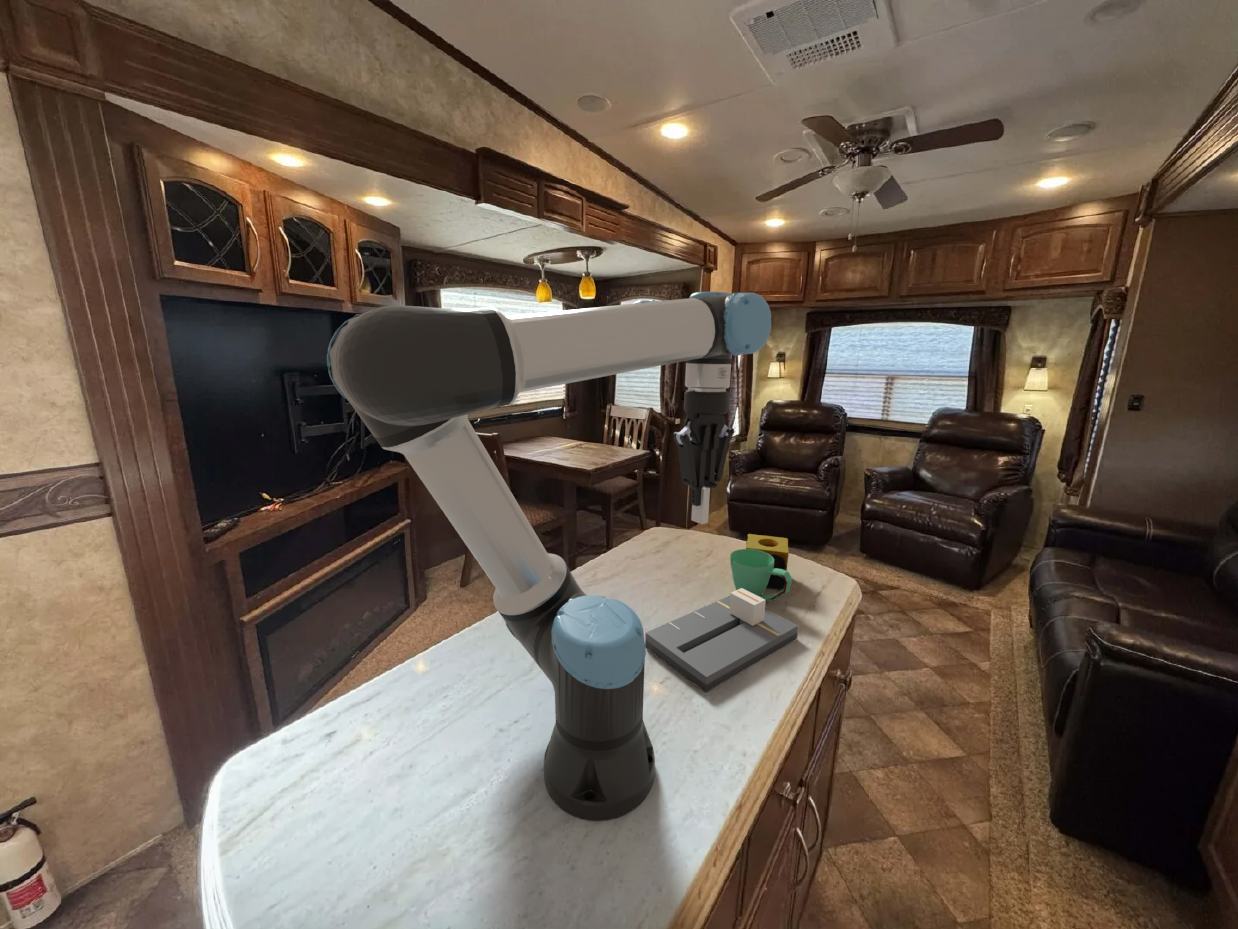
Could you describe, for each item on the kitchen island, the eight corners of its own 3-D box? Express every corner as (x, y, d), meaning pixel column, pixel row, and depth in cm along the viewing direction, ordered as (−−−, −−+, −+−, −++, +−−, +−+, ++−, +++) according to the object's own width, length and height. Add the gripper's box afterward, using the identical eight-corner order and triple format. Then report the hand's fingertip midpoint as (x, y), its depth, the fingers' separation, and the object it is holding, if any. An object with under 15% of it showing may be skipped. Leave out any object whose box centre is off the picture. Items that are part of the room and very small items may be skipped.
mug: (719, 597, 113) (721, 557, 110) (742, 583, 119) (744, 545, 117) (777, 622, 102) (781, 578, 100) (798, 605, 109) (803, 564, 107)
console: (705, 692, 81) (706, 676, 81) (645, 646, 94) (645, 632, 93) (796, 639, 97) (798, 625, 96) (734, 605, 109) (735, 592, 108)
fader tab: (752, 632, 96) (754, 604, 94) (728, 619, 100) (730, 592, 99) (763, 626, 98) (765, 599, 96) (739, 613, 102) (741, 587, 101)
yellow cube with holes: (741, 585, 118) (744, 547, 116) (743, 568, 128) (746, 532, 125) (785, 592, 115) (789, 553, 113) (784, 573, 125) (787, 537, 122)
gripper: (695, 392, 75) (688, 535, 80) (749, 389, 83) (739, 520, 88) (663, 389, 81) (658, 522, 86) (716, 386, 88) (709, 509, 94)
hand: (699, 521), depth 87 cm, fingers closed
